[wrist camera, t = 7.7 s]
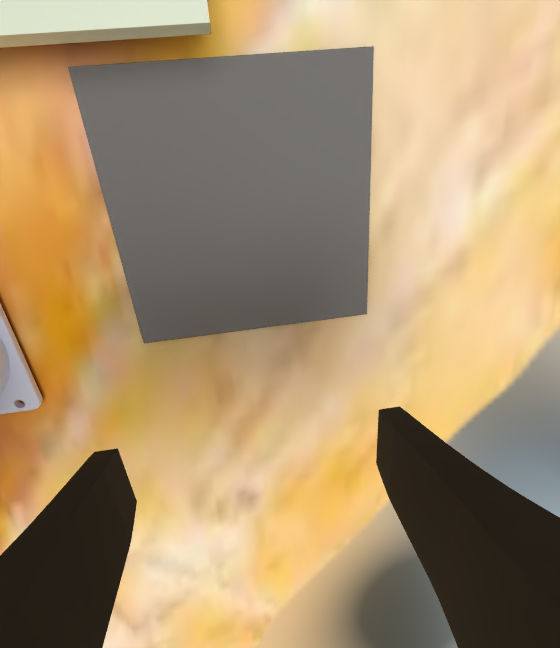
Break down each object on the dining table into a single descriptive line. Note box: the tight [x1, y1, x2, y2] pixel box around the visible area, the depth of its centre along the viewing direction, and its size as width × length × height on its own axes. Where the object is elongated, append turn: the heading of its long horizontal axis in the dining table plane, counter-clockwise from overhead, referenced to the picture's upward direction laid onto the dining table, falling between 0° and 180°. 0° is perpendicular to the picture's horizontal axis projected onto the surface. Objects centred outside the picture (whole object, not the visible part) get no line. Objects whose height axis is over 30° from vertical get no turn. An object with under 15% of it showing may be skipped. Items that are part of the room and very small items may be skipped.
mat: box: [68, 46, 374, 343], centre depth 17 cm, size 12×12×1 cm
